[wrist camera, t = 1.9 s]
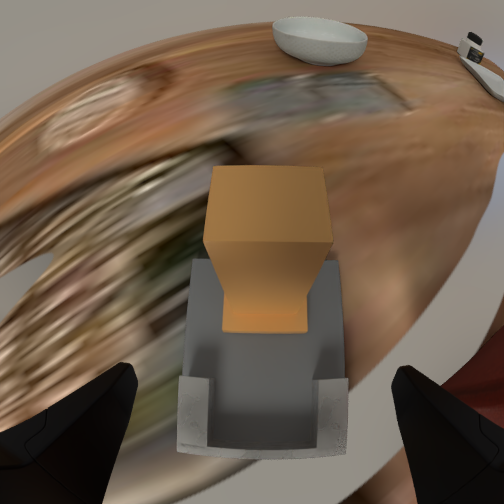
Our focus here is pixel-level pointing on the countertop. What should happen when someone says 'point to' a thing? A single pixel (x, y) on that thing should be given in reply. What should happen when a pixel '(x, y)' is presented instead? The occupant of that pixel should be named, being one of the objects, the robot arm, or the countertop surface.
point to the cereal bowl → (319, 40)
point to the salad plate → (486, 78)
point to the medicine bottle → (471, 48)
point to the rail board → (263, 360)
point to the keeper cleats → (202, 443)
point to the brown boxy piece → (267, 243)
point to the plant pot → (483, 380)
